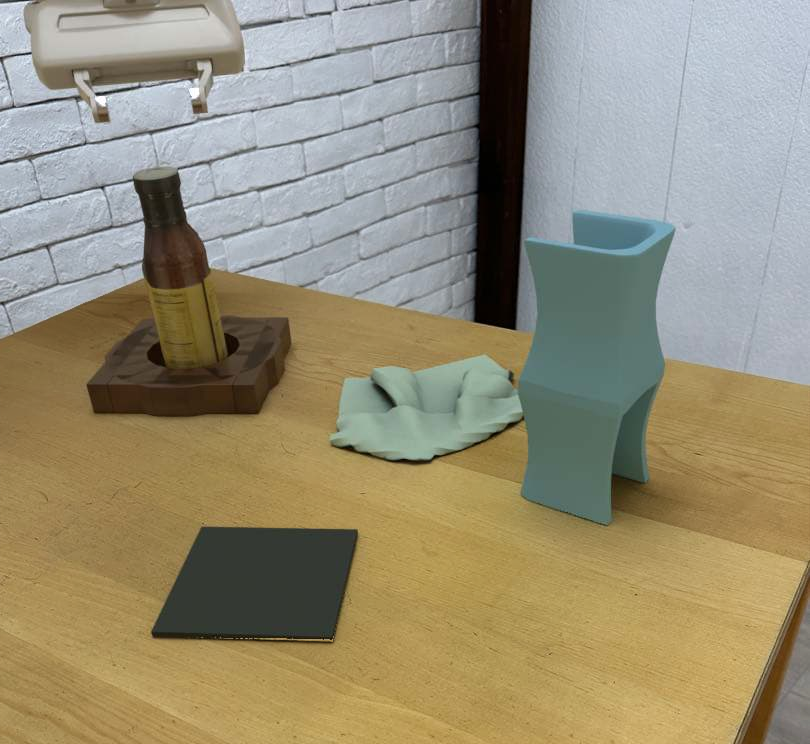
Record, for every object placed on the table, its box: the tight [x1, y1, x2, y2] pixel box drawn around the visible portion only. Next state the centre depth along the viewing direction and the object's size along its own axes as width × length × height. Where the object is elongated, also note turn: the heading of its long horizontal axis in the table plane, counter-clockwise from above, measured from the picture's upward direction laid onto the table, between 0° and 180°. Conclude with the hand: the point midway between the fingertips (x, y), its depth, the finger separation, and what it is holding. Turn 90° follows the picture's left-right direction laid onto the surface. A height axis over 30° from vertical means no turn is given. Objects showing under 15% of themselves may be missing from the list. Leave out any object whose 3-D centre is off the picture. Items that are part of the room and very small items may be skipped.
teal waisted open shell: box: [517, 208, 677, 526], centre depth 66 cm, size 8×8×20 cm
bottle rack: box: [85, 315, 292, 417], centre depth 91 cm, size 17×17×3 cm
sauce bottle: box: [132, 166, 228, 368], centre depth 86 cm, size 6×6×20 cm
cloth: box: [328, 354, 524, 462], centre depth 83 cm, size 20×22×2 cm
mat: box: [150, 526, 359, 640], centre depth 63 cm, size 12×12×1 cm
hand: (151, 114), depth 88 cm, fingers open, 8 cm apart
